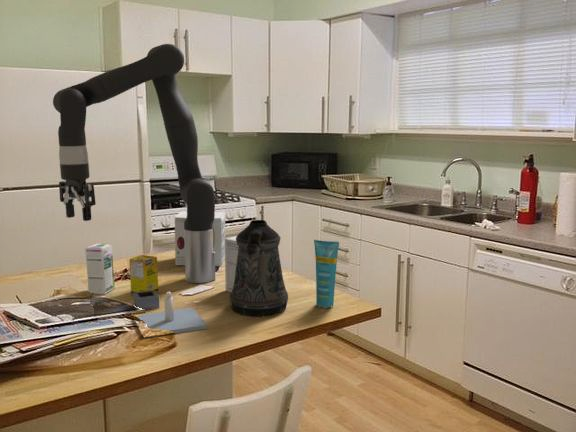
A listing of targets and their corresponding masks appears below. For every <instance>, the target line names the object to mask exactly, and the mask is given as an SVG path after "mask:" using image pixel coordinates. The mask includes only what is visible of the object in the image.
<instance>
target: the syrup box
mask: <svg viewBox="0 0 576 432" xmlns="http://www.w3.org/2000/svg"><path fill="white" fill-rule="evenodd" d="M84 250H85V261H86V275H87V277H86V278H87V287H88V288H87V289H88V293H89V292H90V293H89V294H92V293H94V294H93V295H107V293H109V292H112V291H113V290H115V289H116V288H115V287H116V286H115V275H114V273H115V272H114V259H113V258H114V257H113V245H112V244H110V243H94V244H93V245H90V246H88V247H87V246H86V247H85V249H84Z"/></svg>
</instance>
